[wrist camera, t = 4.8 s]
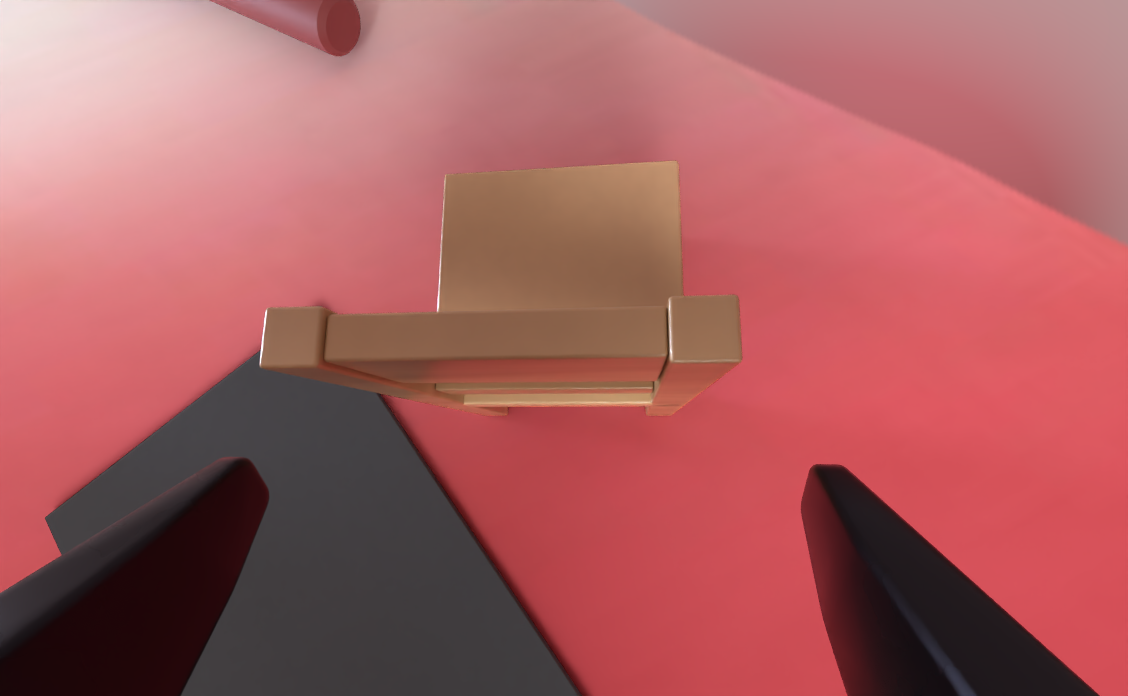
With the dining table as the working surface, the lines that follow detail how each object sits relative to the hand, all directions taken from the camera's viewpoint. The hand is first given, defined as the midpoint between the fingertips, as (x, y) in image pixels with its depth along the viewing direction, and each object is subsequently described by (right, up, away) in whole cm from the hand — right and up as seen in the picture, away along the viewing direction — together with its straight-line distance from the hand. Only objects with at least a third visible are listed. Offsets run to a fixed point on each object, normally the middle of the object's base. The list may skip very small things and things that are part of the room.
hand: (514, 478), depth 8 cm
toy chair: (+1, +3, +10) cm, 11 cm away
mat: (-8, -8, +9) cm, 15 cm away
